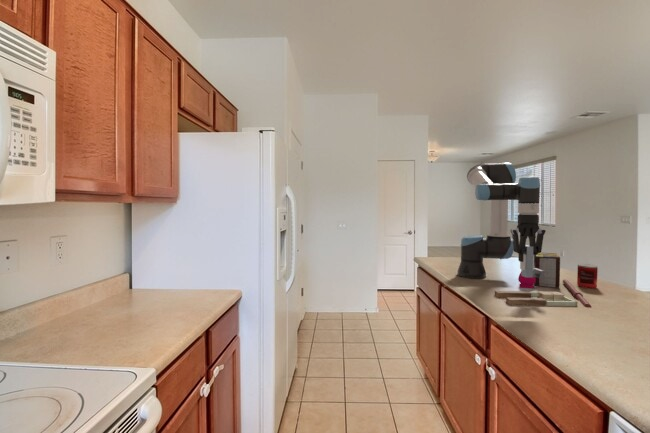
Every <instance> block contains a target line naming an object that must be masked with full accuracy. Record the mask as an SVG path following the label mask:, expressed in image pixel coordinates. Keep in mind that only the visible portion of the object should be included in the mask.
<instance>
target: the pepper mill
mask: <svg viewBox="0 0 650 433" xmlns="http://www.w3.org/2000/svg"><path fill="white" fill-rule="evenodd" d="M517 280H518V282H519V285H518V287H519V288H520V289H521V288H522V289H534V288H535V285H534V283H535V282H536V279H535V277H524V276H522V275H521V272H519V275H518V279H517Z"/></svg>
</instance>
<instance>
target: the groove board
mask: <svg viewBox="0 0 650 433" xmlns="http://www.w3.org/2000/svg"><path fill="white" fill-rule="evenodd" d="M530 292H531V291H528V290H523V291H522V290H494V297H497V298H498V299H499V300H501V301H503V302H505V303H506V304H507V305H510V306H535V307H537V306H540V307H542V306H543V307H545V306H547V305H546V300H544V299H542V298H537V297H532V296H531V293H530Z"/></svg>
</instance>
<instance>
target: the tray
mask: <svg viewBox="0 0 650 433" xmlns="http://www.w3.org/2000/svg"><path fill="white" fill-rule="evenodd" d="M529 292H530V293H531V297H537V292H538V291H529ZM546 306H547V307H548V306H549V307H550V306H551V307H552V306H553V307H554V306H555V307H557V306H558V307H578V301H576V300H574V299H572V298H569V297H567V296H564V301H546Z"/></svg>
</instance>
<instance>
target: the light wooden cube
mask: <svg viewBox="0 0 650 433" xmlns="http://www.w3.org/2000/svg"><path fill="white" fill-rule="evenodd" d="M548 292H549V293H551V294H553V301H564V297H565V294H564V293H562V292H559V291H548Z"/></svg>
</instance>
